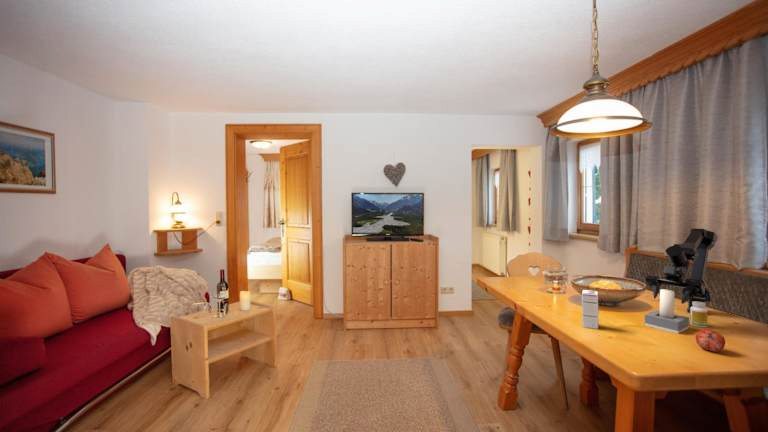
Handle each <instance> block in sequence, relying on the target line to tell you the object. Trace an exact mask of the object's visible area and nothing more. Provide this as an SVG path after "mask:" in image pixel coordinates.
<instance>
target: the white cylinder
mask: <svg viewBox="0 0 768 432" xmlns="http://www.w3.org/2000/svg"><path fill="white" fill-rule="evenodd" d="M675 293H676V292H675V291H674V290H671V289H666V288H664V289H663V288H660V290H659V311H660V315H659V316H660V317H664V318H669V319H674V314H675V296H676V295H675Z"/></svg>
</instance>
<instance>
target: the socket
mask: <svg viewBox="0 0 768 432" xmlns="http://www.w3.org/2000/svg"><path fill="white" fill-rule="evenodd" d="M659 315H660V310H656V309H655V310H653V311H650V312H647V313H645V314H644V326H646V327H650V328H654V329H658V330H662V331H666V332H670V333H674V334H681V333H682V332H685V331H686V330H688V329H689V328H690V316H685V315H680V314H676V313H674V319H669V318H664V317H660V316H659Z"/></svg>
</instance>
